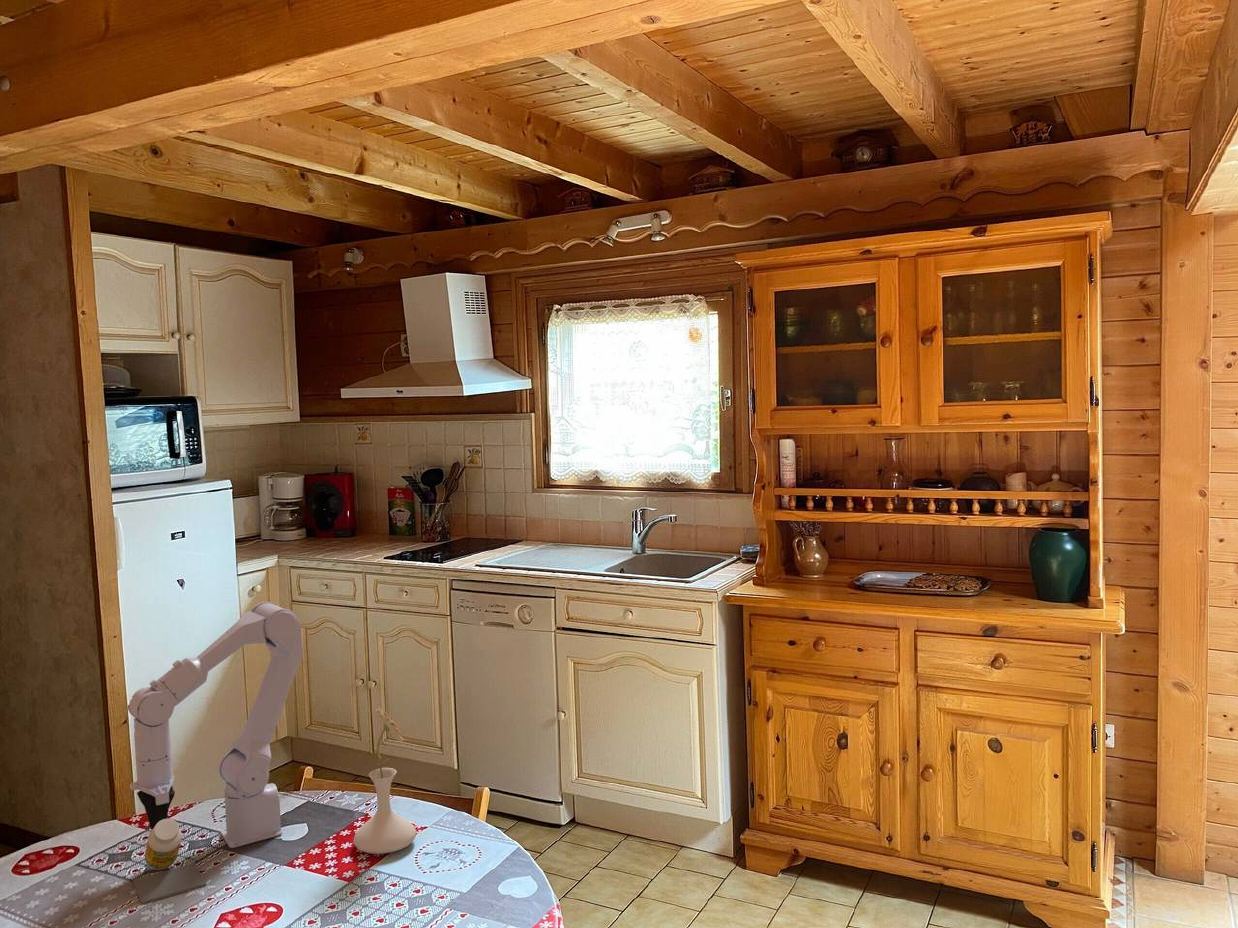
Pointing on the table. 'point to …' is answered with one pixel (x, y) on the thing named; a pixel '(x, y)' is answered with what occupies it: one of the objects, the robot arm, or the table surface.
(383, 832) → the flower in vase
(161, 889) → the mat
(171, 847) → the supplement bottle
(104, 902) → the table surface
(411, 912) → the table surface
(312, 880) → the table surface
